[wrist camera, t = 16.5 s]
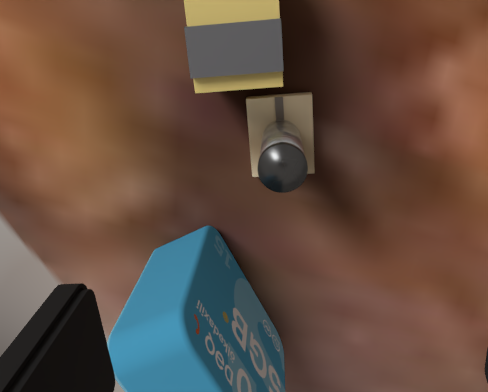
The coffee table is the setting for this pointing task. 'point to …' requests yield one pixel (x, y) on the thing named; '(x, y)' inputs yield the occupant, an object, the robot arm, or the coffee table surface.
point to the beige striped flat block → (280, 108)
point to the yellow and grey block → (234, 44)
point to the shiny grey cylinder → (282, 157)
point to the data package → (195, 325)
